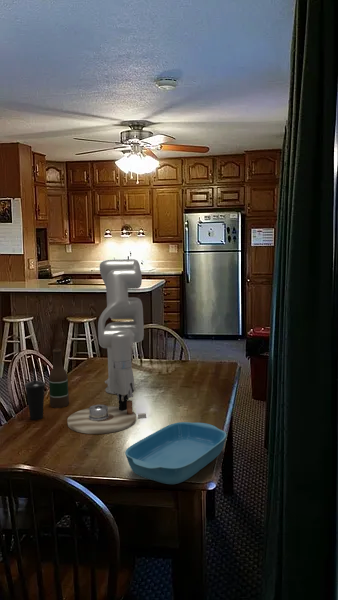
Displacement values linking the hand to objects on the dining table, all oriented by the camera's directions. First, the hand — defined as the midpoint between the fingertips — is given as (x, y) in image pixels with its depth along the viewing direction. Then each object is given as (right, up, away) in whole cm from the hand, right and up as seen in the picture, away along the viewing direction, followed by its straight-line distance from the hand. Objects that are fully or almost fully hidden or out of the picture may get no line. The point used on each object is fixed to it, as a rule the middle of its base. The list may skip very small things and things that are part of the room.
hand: (123, 409), depth 205 cm
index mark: (+8, -3, -3) cm, 8 cm away
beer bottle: (-28, -1, +15) cm, 32 cm away
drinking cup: (-34, -3, 0) cm, 34 cm away
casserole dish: (+21, -8, -43) cm, 49 cm away
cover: (-9, -2, -6) cm, 11 cm away
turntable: (-8, -3, -6) cm, 10 cm away
